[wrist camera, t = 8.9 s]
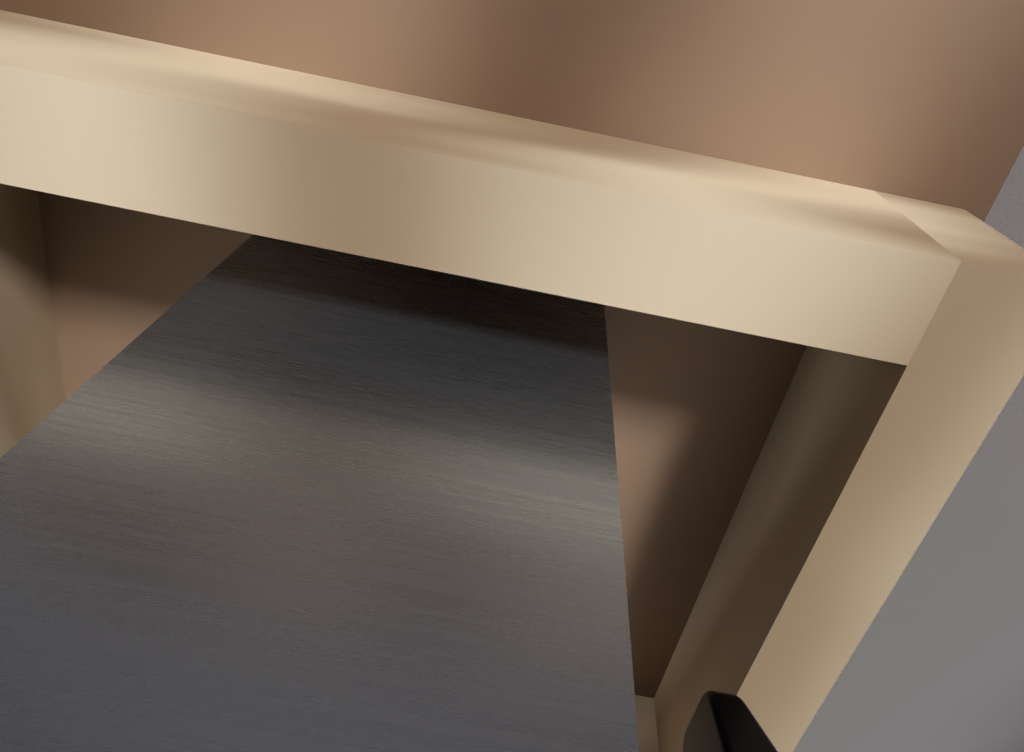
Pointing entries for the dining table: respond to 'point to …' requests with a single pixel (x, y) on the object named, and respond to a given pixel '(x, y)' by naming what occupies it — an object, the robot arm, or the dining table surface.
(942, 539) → the dining table surface
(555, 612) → the block with copper knob
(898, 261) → the chassis bay
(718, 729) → the robot arm
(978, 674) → the dining table surface
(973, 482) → the dining table surface
